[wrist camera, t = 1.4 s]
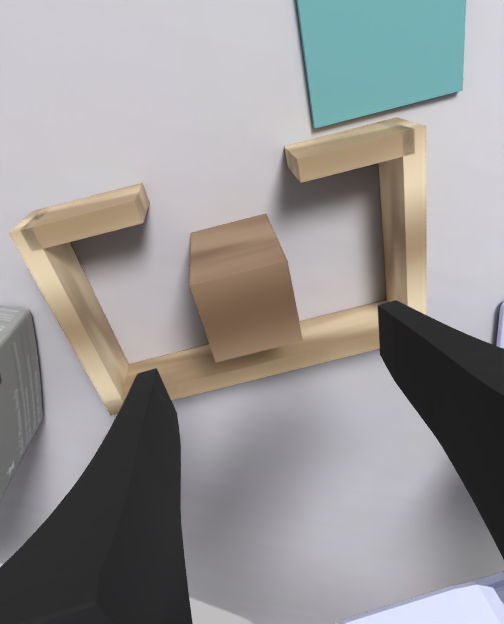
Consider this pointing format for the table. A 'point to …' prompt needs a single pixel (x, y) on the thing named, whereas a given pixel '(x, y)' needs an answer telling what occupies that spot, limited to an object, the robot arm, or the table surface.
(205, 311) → the walnut block
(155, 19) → the table surface
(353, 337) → the open wooden frame
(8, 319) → the skincare box
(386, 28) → the mat
